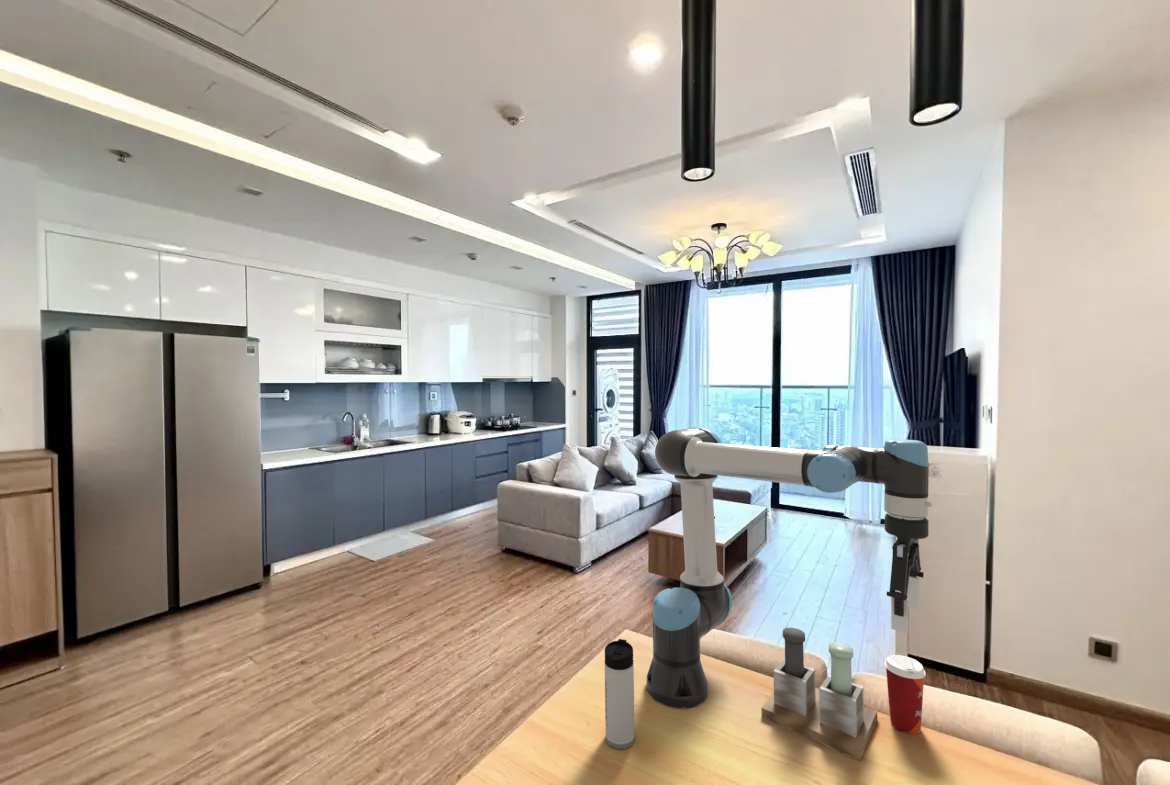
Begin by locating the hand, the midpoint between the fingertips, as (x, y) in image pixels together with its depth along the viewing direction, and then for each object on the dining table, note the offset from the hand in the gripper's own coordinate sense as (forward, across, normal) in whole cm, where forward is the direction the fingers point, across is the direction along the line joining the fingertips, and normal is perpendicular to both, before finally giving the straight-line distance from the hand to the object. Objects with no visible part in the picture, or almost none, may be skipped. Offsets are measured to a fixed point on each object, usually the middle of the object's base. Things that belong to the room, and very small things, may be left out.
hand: (906, 618), depth 99 cm
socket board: (+28, -1, +16) cm, 32 cm away
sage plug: (+21, -2, +12) cm, 24 cm away
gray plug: (+21, -2, +22) cm, 30 cm away
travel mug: (+28, -36, +46) cm, 65 cm away
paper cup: (+28, +9, +2) cm, 29 cm away
